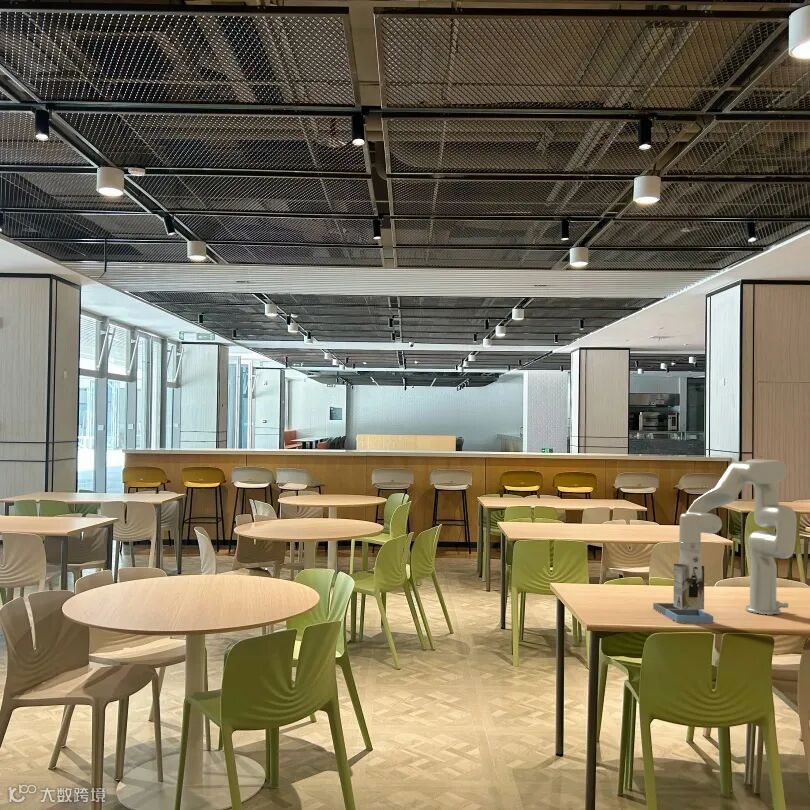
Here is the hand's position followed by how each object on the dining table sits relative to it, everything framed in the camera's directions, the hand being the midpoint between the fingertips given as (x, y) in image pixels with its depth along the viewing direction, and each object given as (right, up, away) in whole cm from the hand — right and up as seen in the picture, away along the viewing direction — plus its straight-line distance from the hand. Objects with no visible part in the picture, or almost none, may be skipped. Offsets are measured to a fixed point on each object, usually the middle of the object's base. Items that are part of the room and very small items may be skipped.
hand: (688, 594), depth 295 cm
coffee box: (0, -5, 0) cm, 5 cm away
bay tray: (-1, -9, +5) cm, 10 cm away
